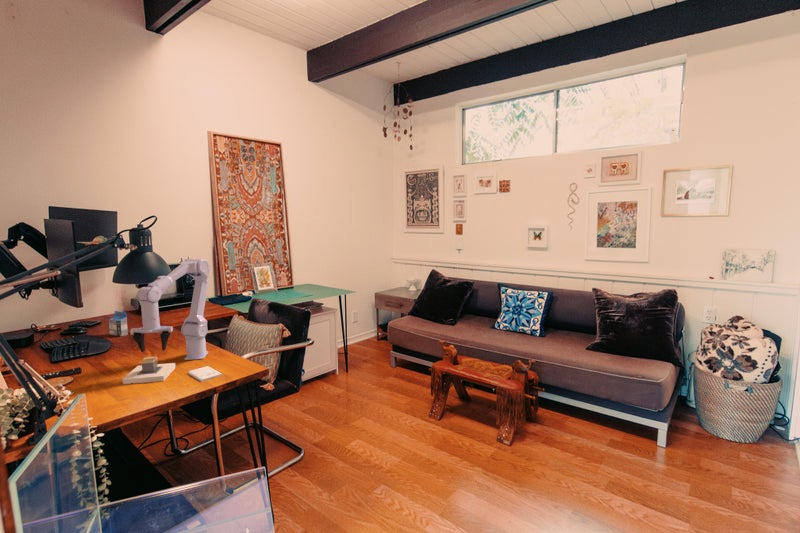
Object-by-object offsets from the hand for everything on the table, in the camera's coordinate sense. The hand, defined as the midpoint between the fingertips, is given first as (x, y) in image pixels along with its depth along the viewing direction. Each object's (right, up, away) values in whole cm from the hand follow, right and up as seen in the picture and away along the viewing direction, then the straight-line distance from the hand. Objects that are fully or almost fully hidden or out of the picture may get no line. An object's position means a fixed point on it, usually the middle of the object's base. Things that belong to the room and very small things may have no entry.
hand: (153, 350), depth 161 cm
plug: (-1, -10, -1) cm, 10 cm away
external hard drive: (+20, -11, +1) cm, 23 cm away
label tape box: (-51, -3, +54) cm, 74 cm away
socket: (-1, -10, 0) cm, 10 cm away
